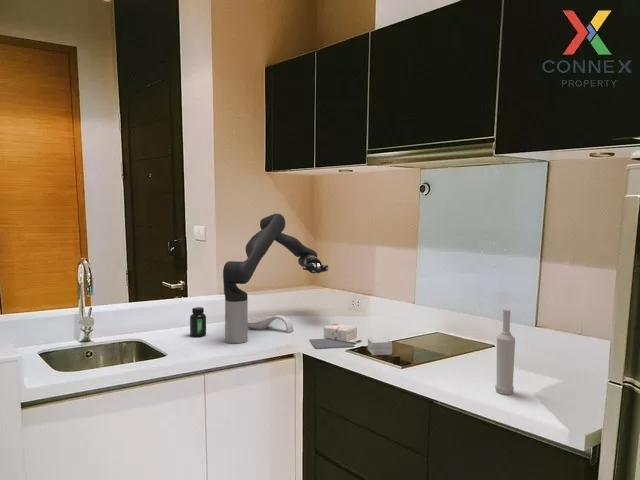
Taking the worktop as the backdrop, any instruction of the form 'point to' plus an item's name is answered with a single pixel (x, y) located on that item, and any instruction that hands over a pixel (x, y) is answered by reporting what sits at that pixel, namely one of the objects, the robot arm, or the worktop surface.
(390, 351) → the small box
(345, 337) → the ink cartridge box
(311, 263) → the robot arm
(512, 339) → the bottle
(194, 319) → the supplement bottle
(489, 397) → the worktop surface
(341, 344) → the mat
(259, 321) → the grey arched piece
